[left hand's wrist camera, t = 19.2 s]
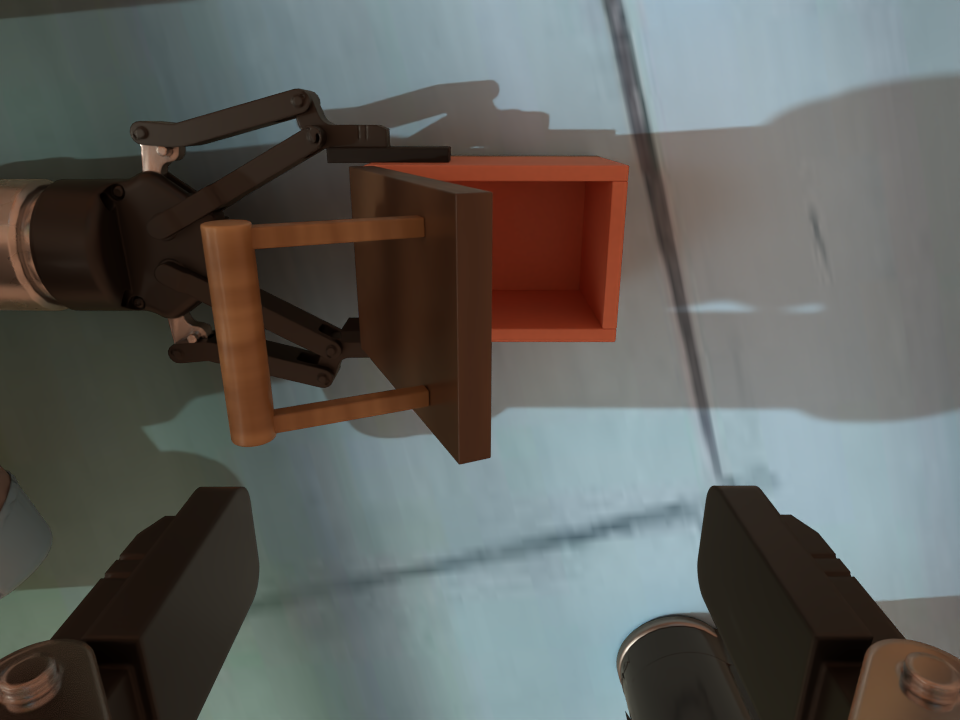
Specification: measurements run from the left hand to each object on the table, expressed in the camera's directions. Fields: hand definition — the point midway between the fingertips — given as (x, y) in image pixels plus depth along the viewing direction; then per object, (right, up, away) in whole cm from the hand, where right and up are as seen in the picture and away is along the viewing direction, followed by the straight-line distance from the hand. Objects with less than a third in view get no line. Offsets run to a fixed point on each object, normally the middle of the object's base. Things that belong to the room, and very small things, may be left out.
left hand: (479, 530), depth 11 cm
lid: (-2, +6, +17) cm, 18 cm away
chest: (+1, +12, +32) cm, 34 cm away
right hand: (-2, +10, +26) cm, 28 cm away
